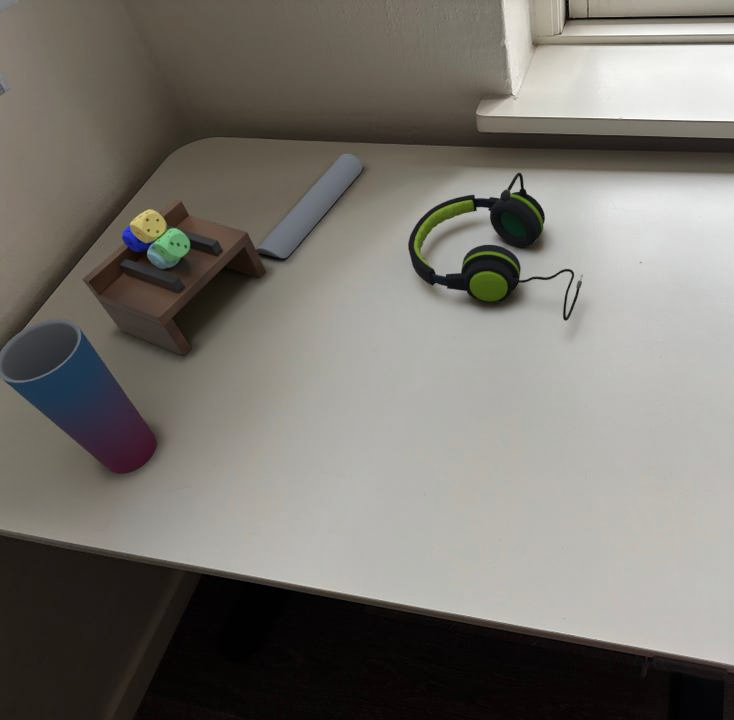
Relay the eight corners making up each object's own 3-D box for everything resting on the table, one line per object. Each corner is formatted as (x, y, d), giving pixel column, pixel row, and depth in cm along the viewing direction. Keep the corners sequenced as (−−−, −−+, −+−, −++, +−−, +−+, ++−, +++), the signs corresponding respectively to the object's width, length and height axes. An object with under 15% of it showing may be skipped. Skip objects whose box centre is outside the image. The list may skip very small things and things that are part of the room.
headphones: (564, 270, 64) (366, 239, 70) (568, 342, 71) (388, 307, 77) (608, 164, 73) (430, 145, 79) (607, 237, 80) (444, 214, 86)
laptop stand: (184, 356, 76) (148, 304, 70) (120, 331, 80) (81, 279, 74) (266, 271, 84) (240, 217, 78) (204, 252, 88) (175, 198, 81)
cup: (137, 489, 66) (42, 389, 55) (80, 473, 68) (-24, 374, 57) (179, 429, 70) (98, 325, 58) (124, 416, 72) (35, 312, 61)
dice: (130, 255, 78) (103, 210, 73) (147, 240, 79) (122, 195, 74) (186, 279, 76) (162, 234, 70) (202, 263, 77) (181, 218, 72)
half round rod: (254, 257, 86) (249, 245, 84) (339, 162, 96) (335, 151, 95) (283, 263, 84) (278, 252, 83) (365, 167, 95) (362, 155, 94)
